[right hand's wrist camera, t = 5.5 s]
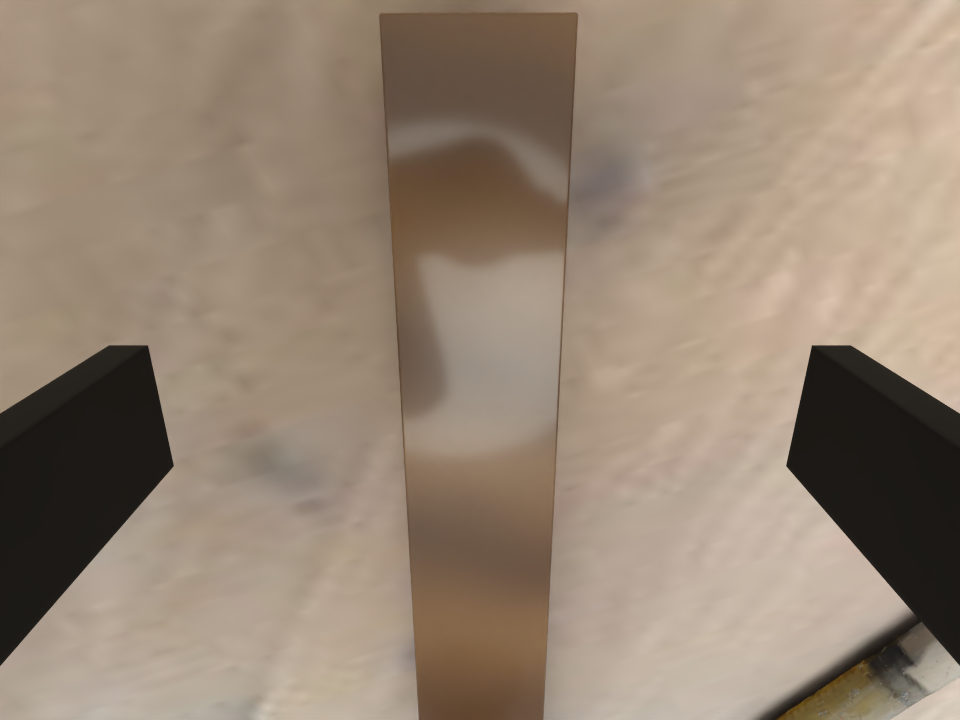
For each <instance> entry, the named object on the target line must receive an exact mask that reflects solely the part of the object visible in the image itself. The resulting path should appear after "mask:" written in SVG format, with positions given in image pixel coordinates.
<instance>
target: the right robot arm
mask: <svg viewBox="0 0 960 720" xmlns="http://www.w3.org/2000/svg"><path fill="white" fill-rule="evenodd" d="M173 466H174V465H173V460H172V456H171V451H170V446H169V442H168V437H167V432H166V428H165V423H164V418H163V414H162V409H161V404H160V400H159V395H158V390H157V386H156V381H155V376H154V372H153V367H152V362H151V358H150V353H149V348H148V346H108V347H106V348H104V349H103V350H101V351H100V352H98V353H96V354H95V355H93V356H92V357H90V358H88V359H87V360H85V361H84V362H82V363H80V364H79V365H77V366H76V367H74V368H72V369H71V370H69V371H68V372H66V373H64V374H63V375H61V376H60V377H58V378H56V379H55V380H53V381H52V382H50V383H48V384H47V385H45V386H44V387H42V388H40V389H39V390H37V391H36V392H34V393H32V394H31V395H29V396H28V397H26V398H25V399H23V400H21V401H20V402H18V403H17V404H15V405H13V406H12V407H10V408H9V409H7V410H5V411H4V412H2V413H1V414H0V666H1V664H2V663H3V662H4V661H5V660H6V659H7V658H8V656H9V655H10V654H11V653H12V652H13V651H14V649H15V648H16V647H17V646H18V645H19V644H20V643H21V641H22V640H23V639H24V638H25V637H26V636H27V634H28V633H29V632H30V631H31V630H32V629H33V628H34V626H35V625H36V624H37V623H38V622H39V621H40V620H41V618H42V617H43V616H44V615H45V614H46V613H47V611H48V610H49V609H50V608H51V607H52V606H53V605H54V603H55V602H56V601H57V600H58V599H59V598H60V596H61V595H62V594H63V593H64V592H65V591H66V590H67V588H68V587H69V586H70V585H71V584H72V583H73V582H74V580H75V579H76V578H77V577H78V576H79V575H80V573H81V572H82V571H83V570H84V569H85V568H86V567H87V565H88V564H89V563H90V562H91V561H92V560H93V558H94V557H95V556H96V555H97V554H98V553H99V552H100V550H101V549H102V548H103V547H104V546H105V545H106V544H107V542H108V541H109V540H110V539H111V538H112V537H113V535H114V534H115V533H116V532H117V531H118V530H119V529H120V527H121V526H122V525H123V524H124V523H125V522H126V520H127V519H128V518H129V517H130V516H131V515H132V514H133V512H134V511H135V510H136V509H137V508H138V507H139V506H140V504H141V503H142V502H143V501H144V500H145V499H146V497H147V496H148V495H149V494H150V493H151V492H152V491H153V489H154V488H155V487H156V486H157V485H158V484H159V482H160V481H161V480H162V479H163V478H164V477H165V476H166V474H167V473H168V472H169V471H170V470H171V469H172V468H173ZM786 466H787V468H788V469H789V470H790V471H791V472H792V473H793V474H794V476H795V477H796V478H797V479H798V480H799V481H800V482H801V484H802V485H803V486H804V487H805V488H806V489H807V491H808V492H809V493H810V494H811V495H812V496H813V497H814V499H815V500H816V501H817V502H818V503H819V504H820V506H821V507H822V508H823V509H824V510H825V511H826V512H827V514H828V515H829V516H830V517H831V518H832V519H833V520H834V522H835V523H836V524H837V525H838V526H839V527H840V529H841V530H842V531H843V532H844V533H845V534H846V535H847V537H848V538H849V539H850V540H851V541H852V542H853V544H854V545H855V546H856V547H857V548H858V549H859V550H860V552H861V553H862V554H863V555H864V556H865V557H866V558H867V560H868V561H869V562H870V563H871V564H872V565H873V567H874V568H875V569H876V570H877V571H878V572H879V573H880V575H881V576H882V577H883V578H884V579H885V580H886V582H887V583H888V584H889V585H890V586H891V587H892V588H893V590H894V591H895V592H896V593H897V594H898V595H899V596H900V598H901V599H902V600H903V601H904V602H905V603H906V605H907V606H908V607H909V608H910V609H911V610H912V611H913V613H914V614H915V615H916V616H917V617H918V618H919V620H920V621H921V622H922V623H923V624H924V625H925V626H926V628H927V629H928V630H929V631H930V632H931V633H932V634H933V636H934V637H935V638H936V639H937V640H938V641H939V643H940V644H941V645H942V646H943V647H944V648H945V649H946V651H947V652H948V653H949V654H950V655H951V656H952V658H953V659H954V660H955V661H956V662H957V663H958V664H959V666H960V414H959V413H958V412H956V411H955V410H953V409H951V408H950V407H948V406H947V405H945V404H943V403H942V402H940V401H939V400H937V399H935V398H934V397H932V396H931V395H929V394H928V393H926V392H924V391H923V390H921V389H920V388H918V387H916V386H915V385H913V384H912V383H910V382H908V381H907V380H905V379H904V378H902V377H900V376H899V375H897V374H896V373H894V372H892V371H891V370H889V369H888V368H886V367H884V366H883V365H881V364H880V363H878V362H876V361H875V360H873V359H872V358H870V357H868V356H867V355H865V354H864V353H862V352H860V351H859V350H857V349H856V348H854V347H852V346H812V348H811V353H810V358H809V362H808V367H807V372H806V376H805V381H804V386H803V390H802V395H801V400H800V404H799V409H798V414H797V418H796V423H795V428H794V432H793V437H792V442H791V446H790V451H789V456H788V460H787V465H786Z"/></svg>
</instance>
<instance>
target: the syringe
mask: <svg viewBox="0 0 960 720" xmlns="http://www.w3.org/2000/svg"><path fill="white" fill-rule="evenodd" d="M958 678H960V666H959V664H958V663H957V662H956V661H955V660H954V659H953V658H952V656H951V655H950V654H949V653H948V652H947V651H946V649H945V648H944V647H943V646H942V645H941V644H940V643H939V641H938V640H937V639H936V638H935V637H934V636H933V634H932V633H931V632H930V631H929V630H928V629H927V628H926V626H925V625H924V624H923V623H922V622H920V623H918V624H917V625H915V626H914V627H913V628H911V629H910V630H908V631H907V632H905V633H904V634H902V635H901V636H899V637H898V638H896V639H895V640H893V641H892V642H890V643H889V644H888V645H886V646H885V647H883V648H882V649H880V650H878V651H877V652H875V653H873V654H872V655H871V656H869V657H868V658H866V659H865V660H863V661H861V662H860V663H858V664H857V665H855V666H854V667H852V668H851V669H849V670H848V671H846V672H845V673H843V674H842V675H840V676H839V677H837V678H836V679H834V680H833V681H832V682H830V683H829V684H828V685H826V686H824V687H823V688H821V689H819V690H818V691H816V692H815V693H814V694H812V695H811V696H809V697H808V698H806V699H805V700H803V701H802V702H801V703H799V704H798V705H796V706H795V707H793V708H791V709H790V710H788V711H787V712H785V713H784V714H782V715H781V716H779V717H777V718H776V719H774V720H890V719H892V718H893V717H895V716H896V715H898V714H900V713H901V712H903V711H904V710H906V709H907V708H909V707H910V706H912V705H913V704H915V703H916V702H918V701H920V700H921V699H923V698H925V697H926V696H928V695H930V694H932V693H934V692H936V691H938V690H940V689H941V688H943V687H944V686H946V685H947V684H949V683H951V682H953V681H954V680H956V679H958Z"/></svg>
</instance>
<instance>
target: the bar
mask: <svg viewBox="0 0 960 720" xmlns="http://www.w3.org/2000/svg"><path fill="white" fill-rule="evenodd" d="M379 20H380V38H381V56H382V74H383V91H384V109H385V127H386V145H387V162H388V180H389V198H390V216H391V233H392V251H393V269H394V287H395V304H396V322H397V340H398V358H399V375H400V393H401V411H402V429H403V446H404V464H405V482H406V500H407V517H408V535H409V553H410V571H411V588H412V606H413V624H414V642H415V660H416V677H417V695H418V713H419V720H543V714H544V693H545V673H546V653H547V633H548V612H549V592H550V572H551V551H552V531H553V511H554V490H555V470H556V450H557V429H558V409H559V389H560V369H561V348H562V328H563V308H564V287H565V267H566V247H567V226H568V206H569V186H570V165H571V145H572V125H573V105H574V84H575V64H576V44H577V23H578V14H577V13H381V14H380V15H379Z"/></svg>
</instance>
